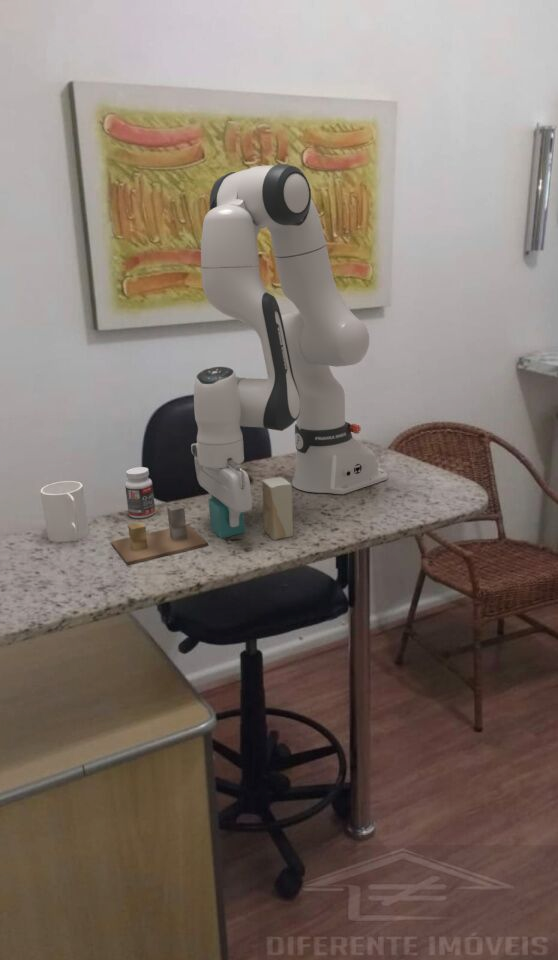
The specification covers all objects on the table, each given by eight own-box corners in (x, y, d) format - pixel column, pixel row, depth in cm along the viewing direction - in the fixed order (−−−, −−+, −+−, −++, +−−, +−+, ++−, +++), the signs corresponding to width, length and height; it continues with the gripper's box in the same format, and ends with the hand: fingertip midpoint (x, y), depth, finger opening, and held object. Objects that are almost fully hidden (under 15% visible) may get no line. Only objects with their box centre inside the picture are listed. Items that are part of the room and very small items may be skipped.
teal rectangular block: (234, 524, 153) (232, 493, 151) (244, 532, 149) (242, 501, 147) (211, 529, 151) (208, 499, 149) (220, 538, 147) (218, 506, 145)
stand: (188, 526, 153) (185, 494, 151) (208, 545, 144) (205, 511, 141) (111, 544, 146) (107, 511, 144) (127, 565, 137) (122, 530, 135)
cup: (60, 552, 144) (52, 503, 141) (43, 532, 154) (35, 486, 151) (101, 541, 148) (94, 493, 145) (81, 523, 158) (75, 478, 155)
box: (263, 531, 149) (260, 479, 145) (283, 527, 150) (281, 475, 147) (274, 540, 144) (271, 487, 141) (294, 536, 146) (292, 483, 142)
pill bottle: (149, 519, 158) (144, 475, 155) (124, 518, 159) (119, 474, 156) (159, 509, 163) (154, 466, 160) (134, 508, 164) (129, 465, 161)
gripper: (258, 463, 137) (262, 533, 142) (216, 438, 155) (221, 501, 159) (226, 470, 134) (231, 540, 139) (187, 443, 152) (193, 507, 156)
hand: (225, 519), depth 149 cm, fingers open, 6 cm apart
